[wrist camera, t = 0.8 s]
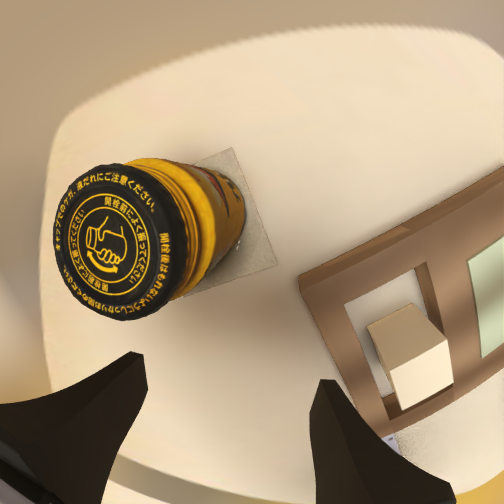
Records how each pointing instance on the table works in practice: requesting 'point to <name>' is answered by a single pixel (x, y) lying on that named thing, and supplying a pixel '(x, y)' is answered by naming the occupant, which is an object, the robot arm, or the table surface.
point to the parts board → (434, 293)
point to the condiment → (157, 233)
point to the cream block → (412, 354)
